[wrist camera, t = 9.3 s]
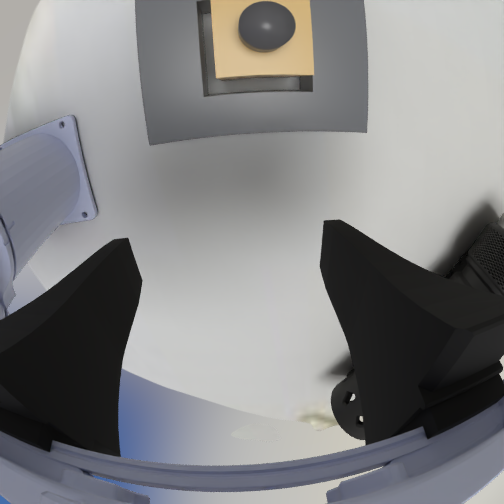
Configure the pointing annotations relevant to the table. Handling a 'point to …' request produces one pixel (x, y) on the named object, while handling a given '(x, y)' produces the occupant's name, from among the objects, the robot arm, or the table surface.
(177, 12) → the socket housing
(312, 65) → the plug
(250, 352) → the table surface
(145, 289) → the table surface
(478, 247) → the muzzle brake
